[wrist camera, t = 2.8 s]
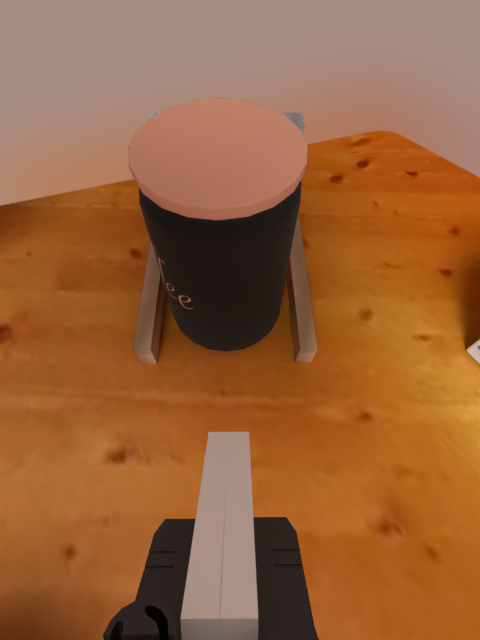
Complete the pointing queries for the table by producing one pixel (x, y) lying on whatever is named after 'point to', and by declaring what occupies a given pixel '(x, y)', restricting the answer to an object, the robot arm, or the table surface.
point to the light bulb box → (475, 351)
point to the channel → (297, 290)
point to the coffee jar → (221, 213)
